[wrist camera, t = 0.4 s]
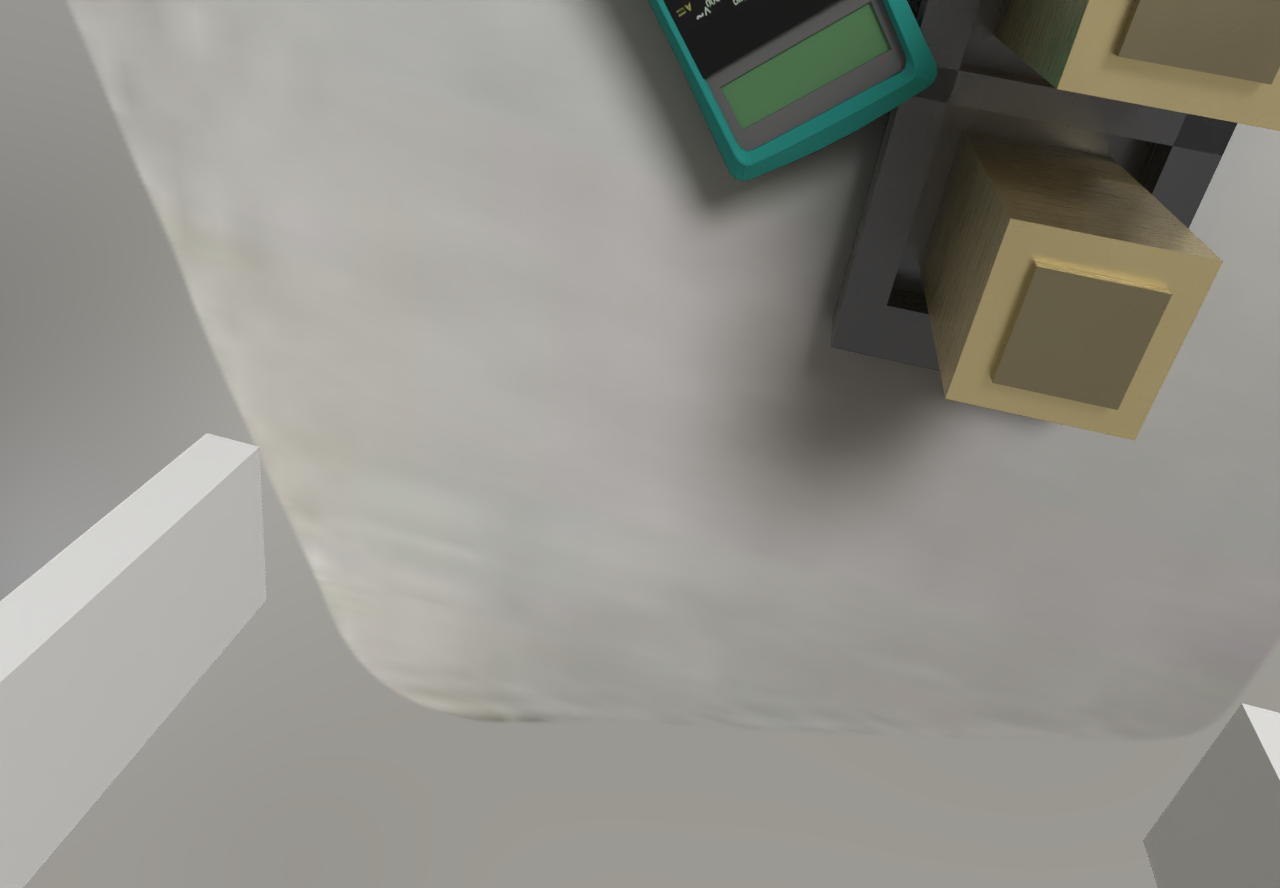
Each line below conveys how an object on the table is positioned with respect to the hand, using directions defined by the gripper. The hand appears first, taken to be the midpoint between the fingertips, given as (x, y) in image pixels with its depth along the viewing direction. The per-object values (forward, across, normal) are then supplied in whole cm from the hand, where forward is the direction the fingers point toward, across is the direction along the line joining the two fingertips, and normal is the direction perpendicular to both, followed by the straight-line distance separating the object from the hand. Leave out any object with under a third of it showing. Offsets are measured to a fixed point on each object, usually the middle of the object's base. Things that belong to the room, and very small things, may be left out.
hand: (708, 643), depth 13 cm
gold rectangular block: (+25, +8, +1) cm, 26 cm away
